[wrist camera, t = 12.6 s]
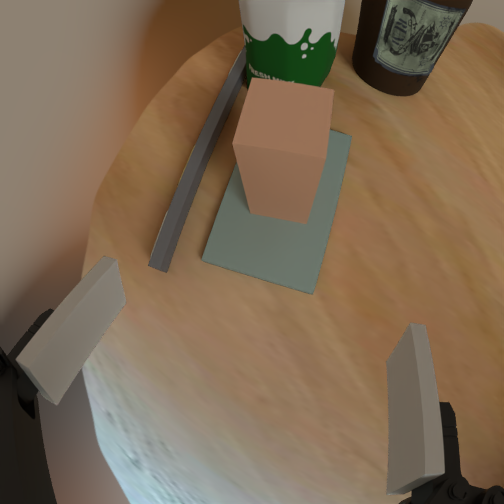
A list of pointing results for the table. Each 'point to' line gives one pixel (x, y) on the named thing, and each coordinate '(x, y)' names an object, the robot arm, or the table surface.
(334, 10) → the soya milk
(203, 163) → the rail
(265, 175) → the tea box
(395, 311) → the table surface
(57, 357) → the robot arm
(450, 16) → the olive oil
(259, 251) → the facing board
